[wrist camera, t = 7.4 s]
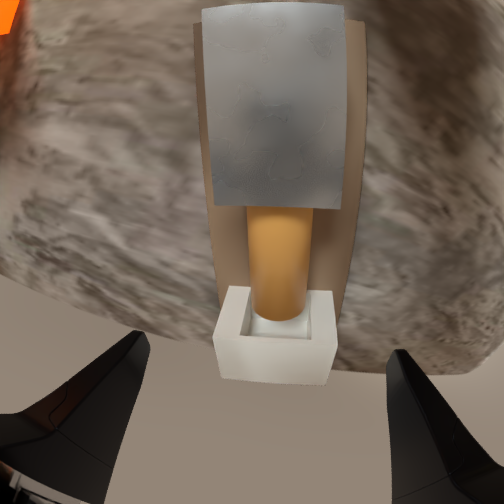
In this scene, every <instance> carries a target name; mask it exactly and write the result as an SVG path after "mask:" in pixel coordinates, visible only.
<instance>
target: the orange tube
mask: <svg viewBox="0 0 504 504" xmlns="http://www.w3.org/2000/svg"><path fill="white" fill-rule="evenodd" d="M246 207H247V227H248V247H249V267H250V286H251V304H252V308H253V310H254V311H255V313H256V314H258V315H259V316H260V317H262V318H264V319H267V320H271V321H286V320H290V319H293V318H295V317H297V316H298V315H299V314H300V313H301V312H302V311H303V310H304V307H305V301H306V291H307V282H308V271H309V260H310V248H311V236H312V222H313V208H301V207H272V206H246Z"/></svg>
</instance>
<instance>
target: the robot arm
mask: <svg viewBox="0 0 504 504" xmlns="http://www.w3.org/2000/svg"><path fill="white" fill-rule="evenodd" d="M149 353H150V344H149V342H148V340H147V337H146V335H145V333H144V332H143V331H137V330H133V331H132V332H130V333H129V334H128V335H126V336H125V337H124V338H122V339H121V340H120V341H118V342H117V343H116V344H115V345H113V346H112V347H111V348H109V349H108V350H107V351H105V352H104V353H103V354H101V355H100V356H99V357H98V358H96V359H95V360H94V361H93V362H91V363H90V364H89V365H87V366H86V367H85V368H83V369H82V370H81V371H79V372H78V373H77V374H76V375H74V376H73V377H72V378H71V379H69V380H68V381H66V382H65V383H64V384H63V385H61V386H60V387H59V388H57V389H56V390H55V391H53V392H52V393H50V394H49V395H47V396H46V397H44V398H43V399H41V400H40V401H38V402H36V403H35V404H33V405H32V406H30V407H28V408H27V409H25V410H23V411H21V412H18V413H14V414H0V504H80V502H81V501H84V502H87V503H90V504H104V501H105V497H106V493H107V490H108V486H109V483H110V479H111V476H112V473H113V468H114V465H115V462H116V459H117V455H118V452H119V449H120V446H121V443H122V440H123V437H124V434H125V431H126V428H127V425H128V422H129V419H130V416H131V413H132V410H133V407H134V404H135V402H136V399H137V396H138V393H139V391H140V388H141V384H142V381H143V377H144V373H145V369H146V365H147V361H148V357H149ZM386 381H387V413H388V421H389V433H390V448H391V468H392V504H504V467H503V466H501V465H499V464H497V463H496V462H495V461H494V460H493V459H492V458H491V457H490V456H489V454H488V453H487V452H486V451H485V450H484V449H483V448H482V447H481V445H480V444H479V443H478V442H477V441H476V440H475V438H473V436H472V435H471V434H470V433H469V431H468V430H467V429H466V427H465V426H464V425H463V423H462V422H461V420H460V419H459V418H458V417H457V415H456V414H455V412H454V411H453V410H452V408H451V407H450V406H449V404H448V403H447V402H446V400H445V399H444V398H443V396H442V395H441V394H440V393H439V391H438V390H437V389H436V387H435V386H434V385H433V384H432V382H431V381H430V380H429V378H428V377H427V376H426V374H425V373H424V372H423V371H422V369H421V368H420V367H419V366H418V364H417V363H416V362H415V361H414V359H413V358H412V357H411V356H410V355H409V353H408V352H407V351H406V350H405V349H395V350H394V351H393V352H392V354H391V356H390V358H389V360H388V362H387V365H386Z"/></svg>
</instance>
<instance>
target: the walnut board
mask: <svg viewBox="0 0 504 504" xmlns="http://www.w3.org/2000/svg"><path fill="white" fill-rule="evenodd" d="M193 28H194V53H195V72H196V89H197V104H198V117H199V130H200V142H201V153H202V164H203V174H204V184H205V193H206V202H207V211H208V220H209V228H210V237H211V245H212V252H213V260H214V268H215V275H216V282H217V289H218V296H219V303H220V310H221V309H222V306H223V303H224V300H225V297H226V294H227V291H228V288H229V286H242V287H251V286H250V267H249V247H248V227H247V207H246V206H215V205H214V194H213V184H212V173H211V161H210V150H209V137H208V124H207V110H206V94H205V78H204V59H203V36H202V22H200V23H195V24H193ZM345 34H346V58H347V118H346V143H345V161H344V175H343V188H342V199H341V209H322V208H313V222H312V236H311V248H310V260H309V271H308V282H307V290H321V291H332V294H333V302H334V311H335V320H336V328H337V323H338V319H339V315H340V310H341V306H342V301H343V297H344V292H345V287H346V282H347V277H348V272H349V266H350V261H351V255H352V249H353V243H354V237H355V230H356V224H357V217H358V209H359V201H360V193H361V183H362V174H363V162H364V150H365V134H366V112H367V52H366V32H365V22H362V21H355V20H348V19H345Z"/></svg>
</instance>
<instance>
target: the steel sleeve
mask: <svg viewBox="0 0 504 504" xmlns="http://www.w3.org/2000/svg"><path fill="white" fill-rule="evenodd" d="M202 36H203V59H204V78H205V94H206V110H207V124H208V137H209V150H210V161H211V173H212V184H213V194H214V205H215V206H272V207H301V208H322V209H341V199H342V188H343V175H344V161H345V143H346V118H347V58H346V34H345V18H344V6H342V5H333V4H321V3H303V2H268V3H249V4H237V5H228V6H220V7H213V8H206V9H202Z"/></svg>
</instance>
